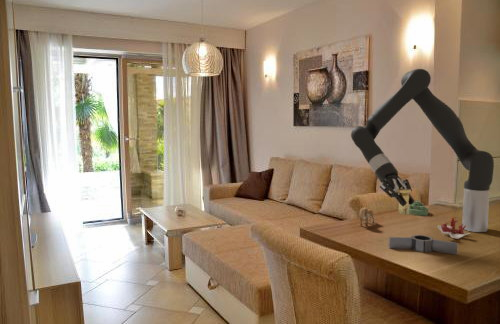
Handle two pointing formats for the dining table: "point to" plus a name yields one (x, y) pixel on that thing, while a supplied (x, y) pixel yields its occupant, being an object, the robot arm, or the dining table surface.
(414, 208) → the decorative artifact
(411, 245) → the hinge
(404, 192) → the hinge pin
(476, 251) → the dining table surface
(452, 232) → the figurine
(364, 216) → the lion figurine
